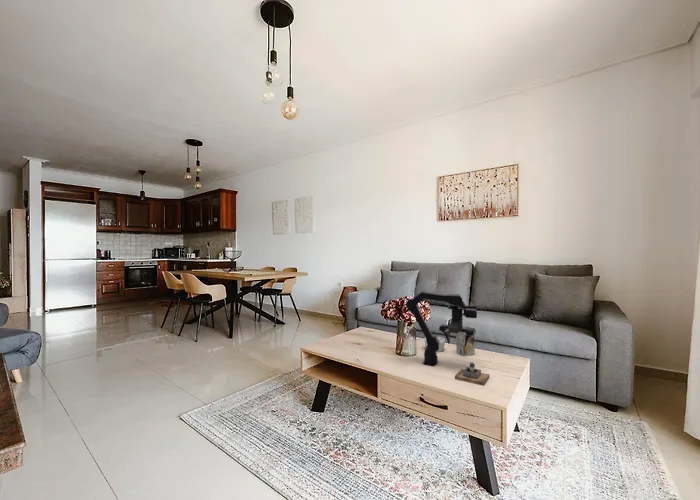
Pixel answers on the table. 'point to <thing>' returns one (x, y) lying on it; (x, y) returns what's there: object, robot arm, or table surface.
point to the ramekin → (441, 343)
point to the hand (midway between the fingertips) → (457, 345)
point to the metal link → (471, 373)
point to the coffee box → (461, 344)
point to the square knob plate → (480, 380)
